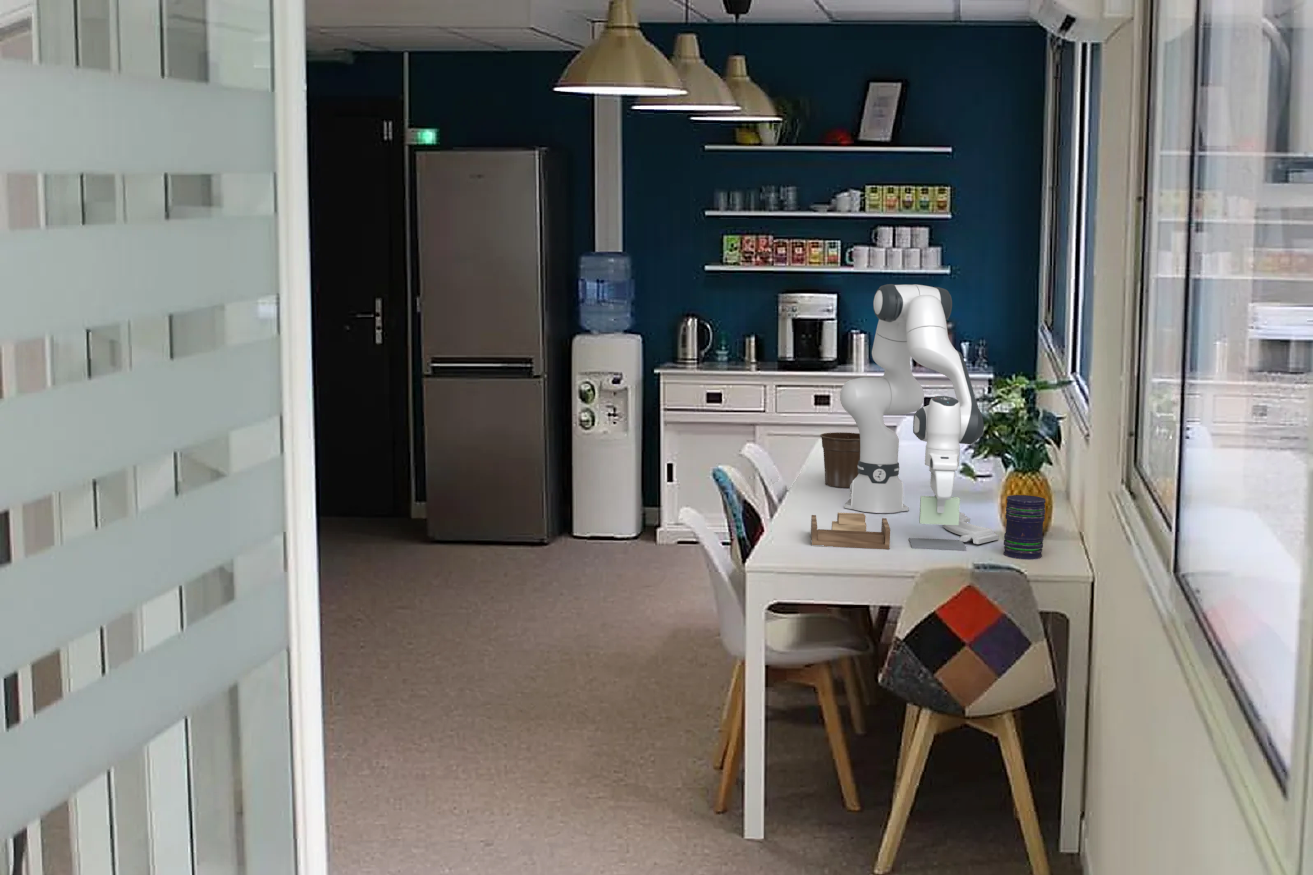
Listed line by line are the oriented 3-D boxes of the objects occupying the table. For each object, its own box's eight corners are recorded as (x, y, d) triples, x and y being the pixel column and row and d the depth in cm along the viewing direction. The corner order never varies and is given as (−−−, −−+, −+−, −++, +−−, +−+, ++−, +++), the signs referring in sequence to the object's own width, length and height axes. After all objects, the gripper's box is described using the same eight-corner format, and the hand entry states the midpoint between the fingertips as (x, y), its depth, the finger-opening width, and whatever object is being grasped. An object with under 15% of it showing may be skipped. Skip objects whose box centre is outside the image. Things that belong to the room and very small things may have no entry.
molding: (920, 517, 468) (920, 507, 468) (961, 517, 470) (961, 507, 469) (963, 544, 426) (964, 533, 426) (1008, 544, 428) (1009, 534, 427)
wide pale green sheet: (919, 521, 428) (920, 495, 427) (957, 523, 427) (958, 497, 426) (920, 523, 425) (921, 497, 424) (958, 525, 425) (959, 498, 424)
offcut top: (837, 521, 435) (837, 512, 434) (863, 522, 435) (863, 513, 434) (838, 524, 431) (839, 515, 430) (865, 525, 431) (865, 516, 430)
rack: (810, 533, 437) (811, 514, 436) (885, 537, 435) (886, 518, 435) (811, 545, 421) (812, 526, 420) (889, 549, 420) (890, 529, 419)
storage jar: (1003, 558, 413) (1006, 500, 411) (1002, 550, 423) (1005, 494, 421) (1043, 560, 412) (1047, 502, 409) (1041, 553, 421) (1045, 496, 419)
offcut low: (831, 531, 435) (831, 520, 435) (865, 532, 435) (865, 522, 434) (831, 534, 431) (832, 523, 431) (866, 535, 431) (866, 525, 430)
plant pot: (813, 487, 514) (815, 436, 511) (823, 479, 529) (825, 430, 527) (864, 491, 509) (866, 440, 507) (872, 483, 524) (875, 434, 522)
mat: (908, 539, 433) (908, 537, 433) (961, 542, 432) (961, 540, 432) (911, 548, 422) (912, 545, 422) (966, 550, 421) (966, 548, 421)
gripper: (926, 453, 434) (923, 504, 436) (933, 464, 414) (930, 517, 416) (950, 454, 434) (947, 505, 436) (958, 465, 414) (955, 518, 416)
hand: (939, 511), depth 426 cm, fingers closed on wide pale green sheet, 2 cm apart
